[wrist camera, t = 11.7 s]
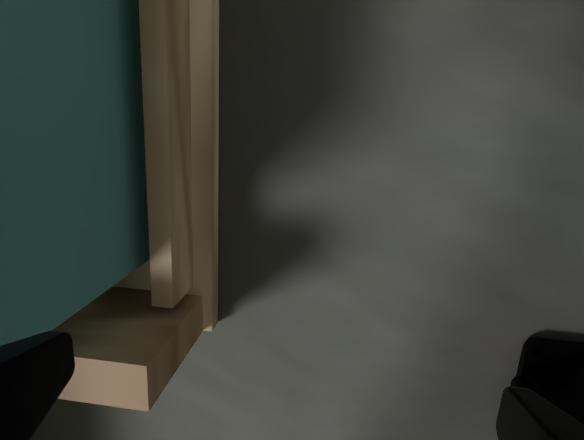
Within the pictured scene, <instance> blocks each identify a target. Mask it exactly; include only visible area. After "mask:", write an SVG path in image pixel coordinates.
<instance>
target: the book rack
mask: <svg viewBox="0 0 584 440" xmlns="http://www.w3.org/2000/svg"><path fill="white" fill-rule="evenodd" d="M139 18H140V42H141V65H142V88H143V112H144V135H145V158H146V181H147V205H148V228H149V251H150V260H148V261H147V262H145V263H144V264H143V265H141V266H140V267H139V268H137V269H136V270H134V271H133V272H132V273H130V274H129V275H128V276H126V277H125V278H123V279H122V280H121V281H119V282H118V283H117V284H115V285H114V286H112V287H111V288H110V289H108V290H107V291H105V292H104V293H103V294H101V295H100V296H99V297H97V298H96V299H94V300H93V301H92V302H90V303H89V304H88V305H86V306H85V307H83V308H82V309H81V310H79V311H78V312H77V313H75V314H74V315H72V316H71V317H70V318H68V319H67V320H66V321H64V322H63V323H61V324H60V325H59V326H57V327H56V328H54V329H53V330H55V331H63V332H68V333H70V334H71V336H72V339H73V349H74V359H75V370H74V373H73V375H72V377H71V379H70V381H69V382H68V384H67V385H66V387H65V388H64V390H63V391H62V393H61V394H60V396H59V397H58V399H63V400H70V401H77V402H84V403H91V404H98V405H105V406H112V407H119V408H126V409H133V410H140V411H147V412H149V411H150V409H151V408H152V406H153V405H154V403H155V402H156V400H157V399H158V397H159V396H160V394H161V393H162V391H163V390H164V388H165V387H166V385H167V384H168V382H169V381H170V379H171V378H172V376H173V375H174V373H175V372H176V370H177V369H178V367H179V366H180V364H181V363H182V361H183V360H184V358H185V357H186V355H187V354H188V352H189V351H190V349H191V348H192V346H193V345H194V343H195V342H196V340H197V339H198V337H199V336H200V334H201V332H202V331H213V329H214V328H215V326H216V324H217V323H218V167H219V0H139Z"/></svg>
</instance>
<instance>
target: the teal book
mask: <svg viewBox="0 0 584 440" xmlns="http://www.w3.org/2000/svg"><path fill="white" fill-rule="evenodd" d="M148 260H150V251H149V228H148V205H147V181H146V158H145V135H144V112H143V88H142V65H141V42H140V18H139V0H0V346H1V345H5V344H8V343H11V342H14V341H17V340H20V339H24V338H27V337H30V336H33V335H36V334H39V333H43V332H46V331H49V330H53V329H54V328H56V327H57V326H59V325H60V324H61V323H63V322H64V321H66V320H67V319H68V318H70V317H71V316H72V315H74V314H75V313H77V312H78V311H79V310H81V309H82V308H83V307H85V306H86V305H88V304H89V303H90V302H92V301H93V300H94V299H96V298H97V297H99V296H100V295H101V294H103V293H104V292H105V291H107V290H108V289H110V288H111V287H112V286H114V285H115V284H117V283H118V282H119V281H121V280H122V279H123V278H125V277H126V276H128V275H129V274H130V273H132V272H133V271H134V270H136V269H137V268H139V267H140V266H141V265H143V264H144V263H145V262H147V261H148Z"/></svg>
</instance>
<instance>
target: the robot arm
mask: <svg viewBox="0 0 584 440" xmlns="http://www.w3.org/2000/svg"><path fill="white" fill-rule="evenodd" d="M535 347H539V349H538V350H536V351H532V350H533V348H535ZM74 370H75V359H74V349H73V339H72V336H71V334H70V333H68V332H63V331H55V330H49V331H46V332H43V333H39V334H36V335H33V336H30V337H27V338H24V339H20V340H17V341H14V342H11V343H8V344H5V345H1V346H0V440H30V439H31V437H32V436H33V434H34V433H35V432H36V430H37V429H38V427H39V426H40V424H41V423H42V421H43V420H44V418H45V417H46V415H47V414H48V412H49V411H50V409H51V408H52V406H53V405H54V403H55V402H56V400H57V399H58V397H59V396H60V394H61V393H62V391H63V390H64V388H65V387H66V385H67V384H68V382H69V381H70V379H71V377H72V375H73V373H74ZM496 431H497V436H498V439H499V440H584V343H579V342H570V341H561V340H551V339H542V338H530V339H528V340H527V341H526V342H525V343H524V345H523V348H522V353H521V357H520V361H519V366H518V370H517V374H516V376H515V377H514V378H513V379H512V381H511V386H508V387H506V388H505V389H504V391H503V394H502V399H501V403H500V408H499V412H498V417H497V422H496Z"/></svg>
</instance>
